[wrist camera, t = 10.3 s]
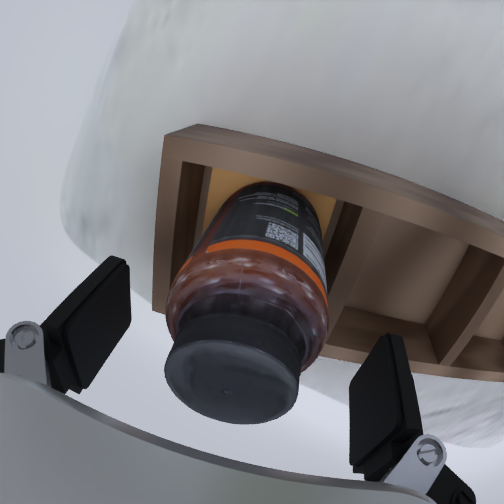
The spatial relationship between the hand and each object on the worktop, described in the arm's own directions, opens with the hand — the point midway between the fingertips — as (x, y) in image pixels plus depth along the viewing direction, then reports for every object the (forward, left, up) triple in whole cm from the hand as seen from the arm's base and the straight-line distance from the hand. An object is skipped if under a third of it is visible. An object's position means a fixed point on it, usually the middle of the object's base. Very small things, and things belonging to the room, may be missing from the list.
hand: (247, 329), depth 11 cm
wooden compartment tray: (-8, 0, -9) cm, 13 cm away
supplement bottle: (0, 0, -9) cm, 9 cm away
